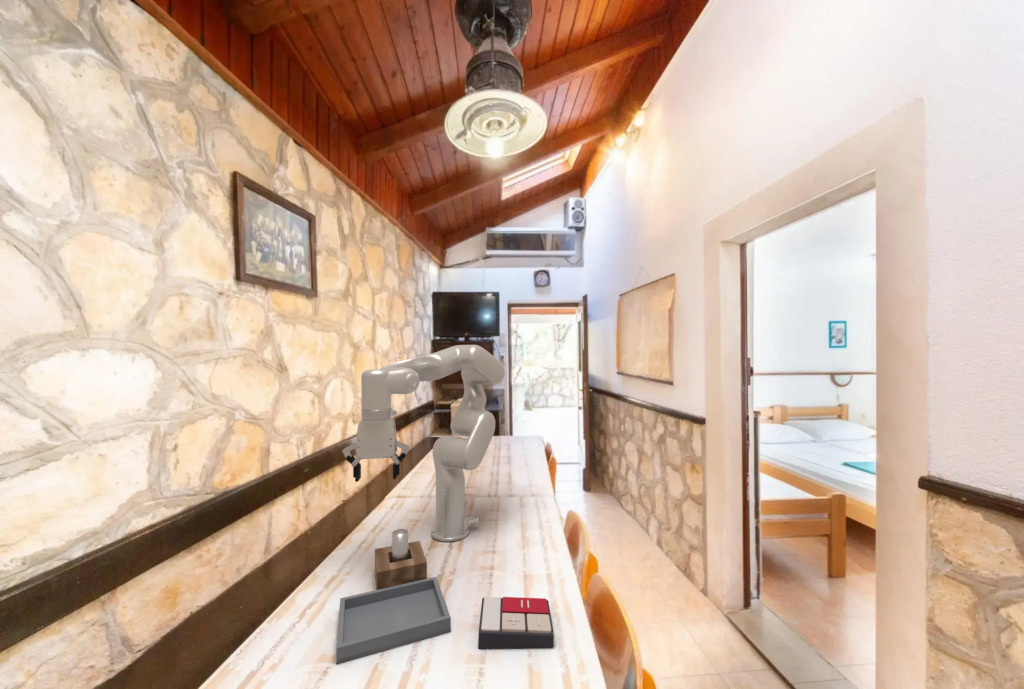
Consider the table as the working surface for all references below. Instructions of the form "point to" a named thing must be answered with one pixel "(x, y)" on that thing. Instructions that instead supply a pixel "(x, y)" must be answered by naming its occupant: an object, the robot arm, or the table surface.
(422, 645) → the table surface
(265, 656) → the table surface
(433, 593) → the tray
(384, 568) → the block
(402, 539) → the pin
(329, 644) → the table surface
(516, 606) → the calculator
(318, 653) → the table surface
